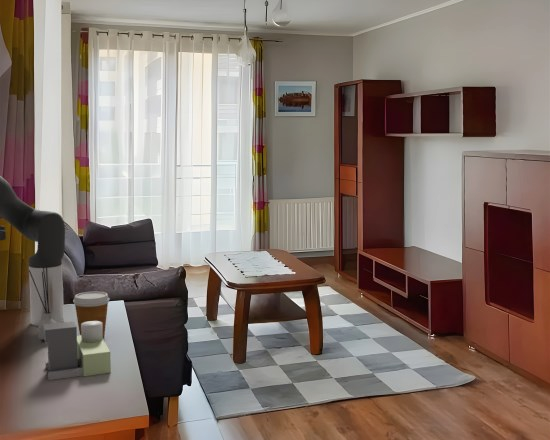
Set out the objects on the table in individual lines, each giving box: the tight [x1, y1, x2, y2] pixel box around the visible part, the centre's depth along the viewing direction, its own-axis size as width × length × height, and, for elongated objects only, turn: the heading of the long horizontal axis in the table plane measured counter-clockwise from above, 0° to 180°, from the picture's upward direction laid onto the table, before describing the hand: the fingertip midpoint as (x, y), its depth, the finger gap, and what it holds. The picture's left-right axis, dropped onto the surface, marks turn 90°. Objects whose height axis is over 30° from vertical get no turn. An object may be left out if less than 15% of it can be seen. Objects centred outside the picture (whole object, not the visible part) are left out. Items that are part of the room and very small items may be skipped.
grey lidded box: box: [43, 320, 79, 372], centre depth 144 cm, size 5×7×11 cm
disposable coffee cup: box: [72, 291, 110, 339], centre depth 170 cm, size 10×10×12 cm
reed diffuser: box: [28, 266, 56, 340], centre depth 169 cm, size 10×7×20 cm
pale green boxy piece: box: [45, 321, 112, 381], centre depth 149 cm, size 16×14×9 cm
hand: (5, 232), depth 145 cm, fingers open, 8 cm apart
